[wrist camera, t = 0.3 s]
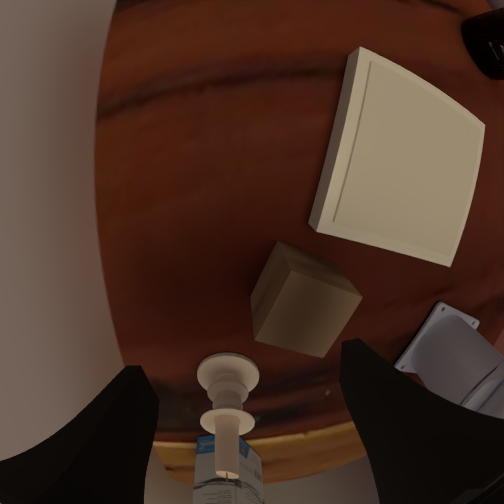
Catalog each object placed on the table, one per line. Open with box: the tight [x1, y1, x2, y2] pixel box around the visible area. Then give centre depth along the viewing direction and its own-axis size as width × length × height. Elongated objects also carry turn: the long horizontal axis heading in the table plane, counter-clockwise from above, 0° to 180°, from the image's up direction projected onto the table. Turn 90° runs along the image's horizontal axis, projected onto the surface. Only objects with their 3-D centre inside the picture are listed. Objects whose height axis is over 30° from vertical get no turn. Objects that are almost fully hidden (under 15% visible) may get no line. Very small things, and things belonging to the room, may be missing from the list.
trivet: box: [308, 47, 485, 267], centre depth 15 cm, size 12×12×2 cm
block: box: [250, 240, 363, 358], centre depth 17 cm, size 4×4×5 cm
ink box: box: [193, 434, 264, 504], centre depth 21 cm, size 8×5×12 cm, turn 20°
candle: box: [197, 352, 259, 483], centre depth 17 cm, size 5×5×10 cm
